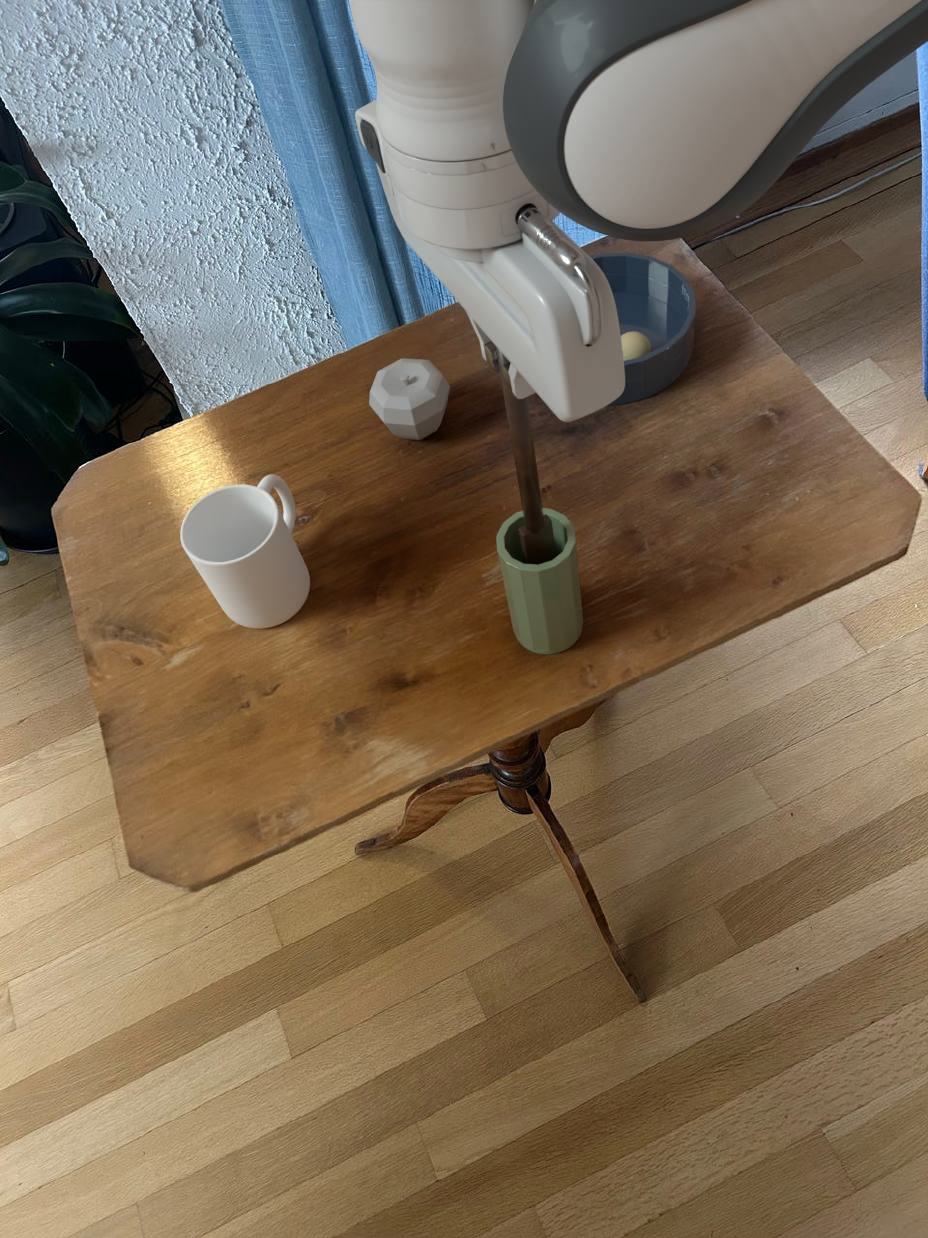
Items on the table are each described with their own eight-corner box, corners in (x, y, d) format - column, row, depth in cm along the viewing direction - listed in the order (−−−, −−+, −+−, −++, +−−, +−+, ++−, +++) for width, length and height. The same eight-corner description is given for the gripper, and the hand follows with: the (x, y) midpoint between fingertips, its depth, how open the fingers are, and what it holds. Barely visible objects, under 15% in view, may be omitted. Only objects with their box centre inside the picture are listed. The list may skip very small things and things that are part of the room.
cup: (207, 620, 88) (161, 552, 80) (265, 517, 94) (229, 444, 86) (288, 641, 86) (250, 573, 77) (343, 533, 91) (313, 460, 83)
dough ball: (638, 346, 98) (637, 318, 95) (658, 367, 96) (659, 338, 93) (606, 362, 97) (605, 333, 94) (627, 383, 96) (626, 355, 93)
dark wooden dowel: (549, 551, 76) (516, 304, 56) (559, 563, 75) (528, 317, 56) (522, 565, 76) (479, 322, 56) (531, 578, 75) (491, 336, 55)
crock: (559, 584, 85) (549, 495, 75) (596, 634, 82) (590, 547, 72) (500, 616, 84) (482, 529, 74) (536, 667, 81) (521, 584, 71)
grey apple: (462, 446, 95) (452, 396, 90) (383, 464, 95) (367, 415, 90) (450, 388, 100) (439, 338, 94) (374, 406, 100) (359, 356, 94)
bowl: (634, 271, 105) (634, 230, 101) (726, 357, 96) (730, 317, 92) (501, 336, 103) (495, 297, 98) (584, 430, 94) (581, 392, 90)
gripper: (657, 243, 43) (655, 458, 54) (443, 55, 54) (479, 266, 65) (531, 304, 42) (556, 510, 53) (340, 100, 53) (395, 307, 64)
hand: (512, 374), depth 59 cm, fingers closed on dark wooden dowel, 1 cm apart
